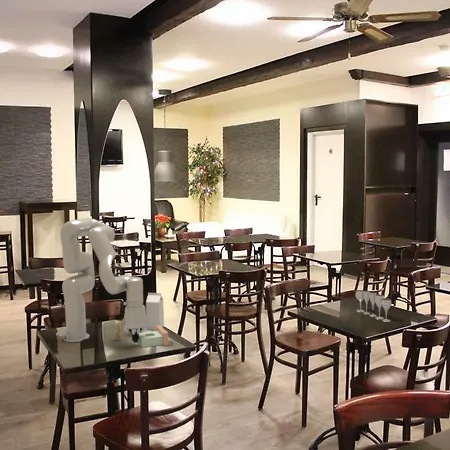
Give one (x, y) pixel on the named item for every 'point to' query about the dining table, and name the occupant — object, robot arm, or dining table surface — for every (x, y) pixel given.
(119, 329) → the dowel
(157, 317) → the milk carton
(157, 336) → the tissue box
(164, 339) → the orange rectangular block
